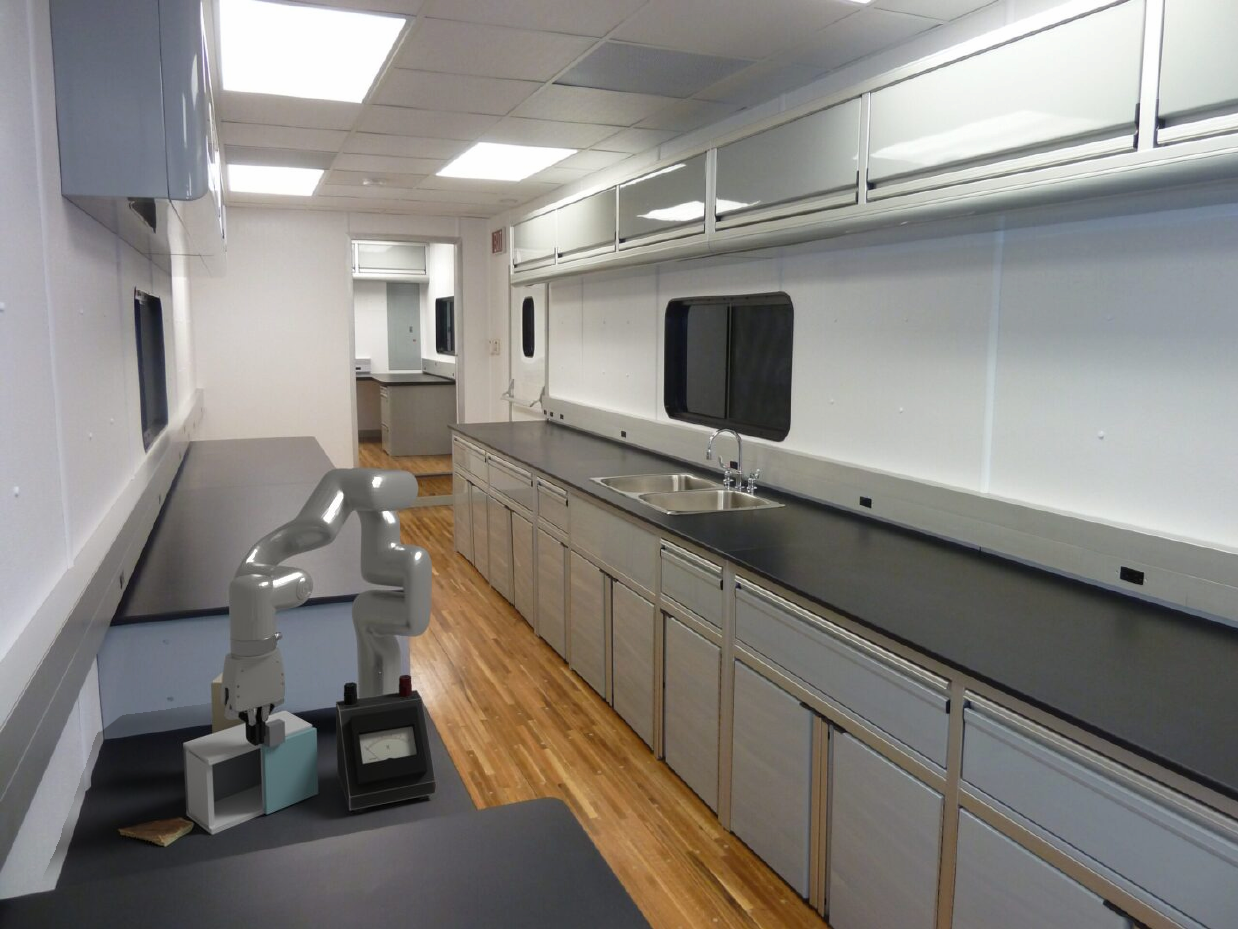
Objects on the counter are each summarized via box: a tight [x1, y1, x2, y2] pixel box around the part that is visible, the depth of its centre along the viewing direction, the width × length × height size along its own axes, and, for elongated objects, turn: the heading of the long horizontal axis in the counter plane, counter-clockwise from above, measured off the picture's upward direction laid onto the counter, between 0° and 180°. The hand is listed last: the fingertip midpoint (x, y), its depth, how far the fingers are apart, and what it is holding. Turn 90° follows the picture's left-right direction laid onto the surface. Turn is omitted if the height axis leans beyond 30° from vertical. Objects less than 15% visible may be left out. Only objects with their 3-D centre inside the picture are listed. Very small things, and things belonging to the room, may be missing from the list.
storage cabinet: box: [182, 710, 313, 835], centre depth 167 cm, size 20×10×14 cm, turn 140°
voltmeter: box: [335, 674, 437, 813], centre depth 174 cm, size 16×16×20 cm
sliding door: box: [262, 719, 319, 815], centre depth 167 cm, size 10×2×17 cm, turn 140°
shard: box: [117, 816, 194, 847], centre depth 159 cm, size 11×8×2 cm
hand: (256, 742), depth 161 cm, fingers closed
